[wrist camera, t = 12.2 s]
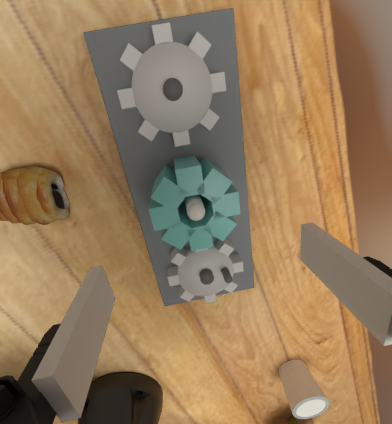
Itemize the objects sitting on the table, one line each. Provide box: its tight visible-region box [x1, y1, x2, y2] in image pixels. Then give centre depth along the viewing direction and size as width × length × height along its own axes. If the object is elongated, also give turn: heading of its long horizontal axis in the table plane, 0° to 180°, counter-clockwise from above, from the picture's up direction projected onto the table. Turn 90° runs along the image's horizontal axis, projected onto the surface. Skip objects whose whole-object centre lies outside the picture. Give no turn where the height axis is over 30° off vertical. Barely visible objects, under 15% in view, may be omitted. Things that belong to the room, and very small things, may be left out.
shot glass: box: [279, 359, 329, 419], centre depth 43 cm, size 7×7×7 cm
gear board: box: [84, 8, 254, 306], centre depth 25 cm, size 14×34×8 cm, turn 9°
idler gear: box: [149, 155, 240, 251], centre depth 25 cm, size 9×9×6 cm
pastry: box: [0, 166, 69, 225], centre depth 25 cm, size 9×7×4 cm
